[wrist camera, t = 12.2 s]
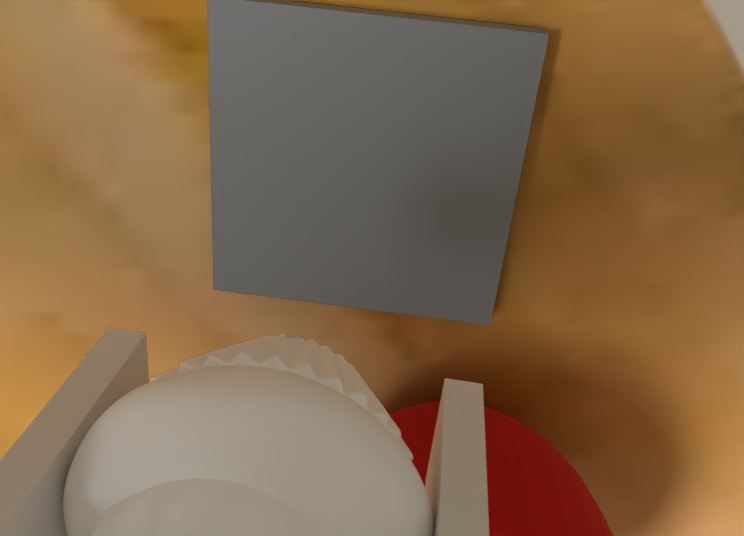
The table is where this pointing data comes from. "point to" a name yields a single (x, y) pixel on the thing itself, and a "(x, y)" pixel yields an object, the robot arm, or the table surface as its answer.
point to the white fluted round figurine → (248, 452)
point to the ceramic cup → (515, 476)
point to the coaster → (366, 154)
